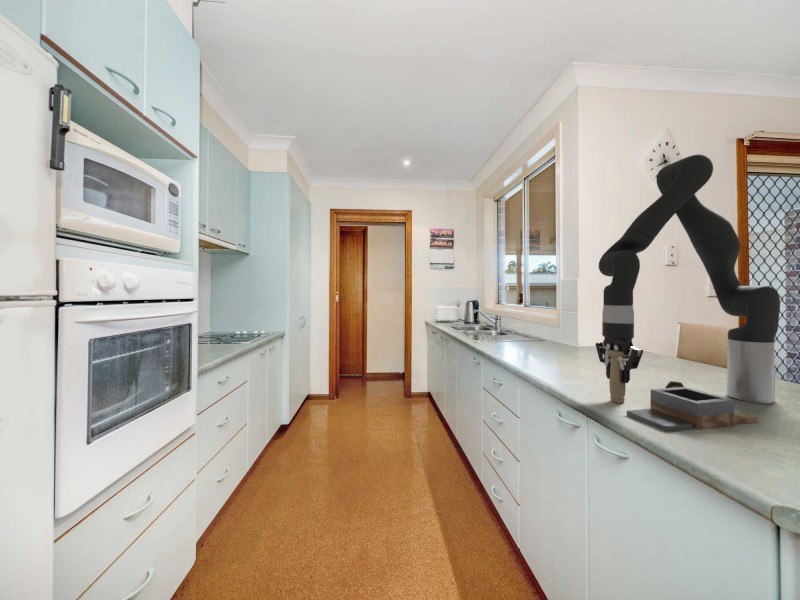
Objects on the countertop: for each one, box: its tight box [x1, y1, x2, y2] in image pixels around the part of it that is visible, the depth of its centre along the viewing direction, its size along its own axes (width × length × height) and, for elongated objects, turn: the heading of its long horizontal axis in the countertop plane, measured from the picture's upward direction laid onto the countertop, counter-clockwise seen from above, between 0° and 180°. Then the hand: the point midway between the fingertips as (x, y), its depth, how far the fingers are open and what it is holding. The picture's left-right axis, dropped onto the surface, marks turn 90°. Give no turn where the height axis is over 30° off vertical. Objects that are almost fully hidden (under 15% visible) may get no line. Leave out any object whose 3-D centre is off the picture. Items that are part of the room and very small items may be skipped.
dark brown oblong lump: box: [664, 380, 685, 388], centre depth 94 cm, size 6×5×15 cm
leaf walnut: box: [649, 400, 758, 431], centre depth 80 cm, size 19×11×3 cm, turn 101°
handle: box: [607, 349, 628, 404], centre depth 91 cm, size 5×6×15 cm
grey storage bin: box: [626, 386, 736, 433], centre depth 78 cm, size 19×11×6 cm, turn 101°
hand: (617, 380), depth 91 cm, fingers closed on handle, 4 cm apart
